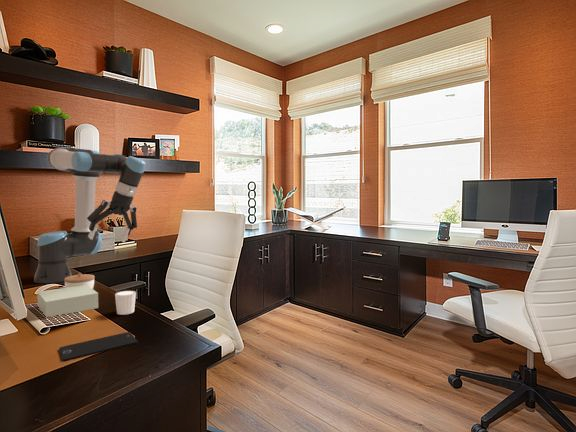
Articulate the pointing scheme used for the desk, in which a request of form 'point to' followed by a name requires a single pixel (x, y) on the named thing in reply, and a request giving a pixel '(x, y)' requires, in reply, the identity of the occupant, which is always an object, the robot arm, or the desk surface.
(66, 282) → the lidded jar
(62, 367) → the desk surface
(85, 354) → the cell phone
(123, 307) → the white tapered cup
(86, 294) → the sage box
